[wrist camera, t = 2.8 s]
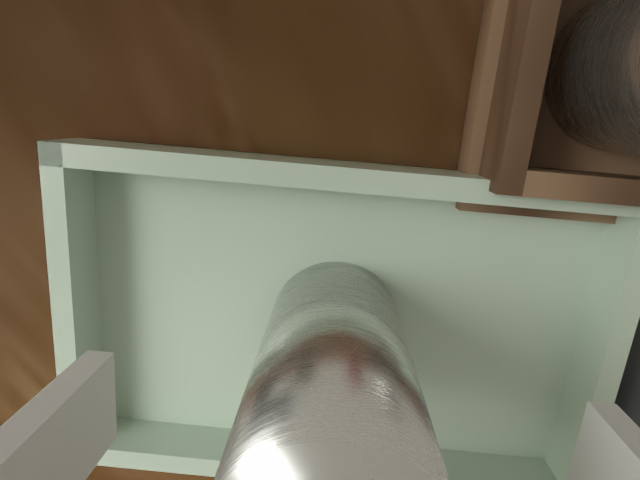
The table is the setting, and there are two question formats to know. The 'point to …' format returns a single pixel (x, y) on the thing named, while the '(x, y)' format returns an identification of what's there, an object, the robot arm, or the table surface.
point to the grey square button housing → (631, 382)
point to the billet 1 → (333, 389)
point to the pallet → (532, 120)
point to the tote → (332, 246)
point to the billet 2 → (598, 76)
